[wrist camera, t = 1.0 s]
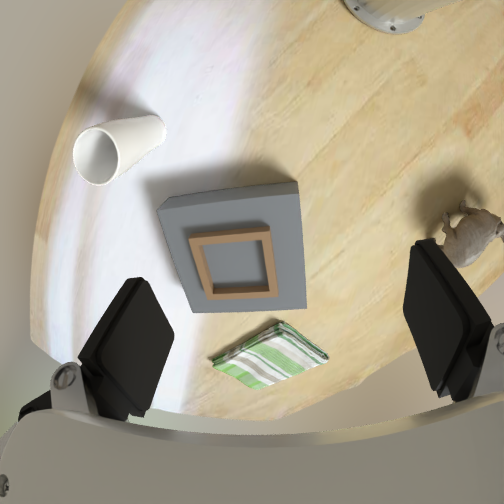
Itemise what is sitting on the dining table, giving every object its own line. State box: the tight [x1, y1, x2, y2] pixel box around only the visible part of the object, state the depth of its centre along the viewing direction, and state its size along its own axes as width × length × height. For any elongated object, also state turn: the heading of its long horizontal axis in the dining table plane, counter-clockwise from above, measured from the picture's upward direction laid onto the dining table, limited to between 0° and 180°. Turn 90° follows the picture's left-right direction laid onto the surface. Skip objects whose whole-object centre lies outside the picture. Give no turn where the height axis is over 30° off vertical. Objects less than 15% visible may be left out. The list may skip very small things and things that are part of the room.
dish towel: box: [212, 321, 329, 390], centre depth 61 cm, size 17×23×4 cm
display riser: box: [157, 182, 307, 313], centre depth 44 cm, size 20×20×6 cm
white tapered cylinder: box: [73, 115, 167, 186], centre depth 31 cm, size 7×7×15 cm
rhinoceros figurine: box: [430, 200, 504, 268], centre depth 36 cm, size 8×14×15 cm
